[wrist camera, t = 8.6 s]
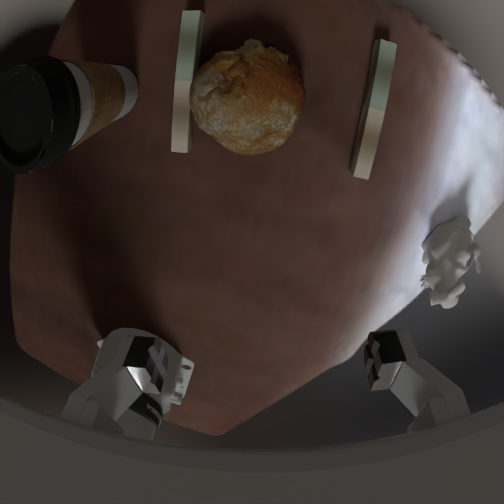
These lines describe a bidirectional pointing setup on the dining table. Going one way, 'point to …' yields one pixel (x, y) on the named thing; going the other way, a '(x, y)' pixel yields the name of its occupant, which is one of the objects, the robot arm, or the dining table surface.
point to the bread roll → (248, 98)
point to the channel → (370, 111)
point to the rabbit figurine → (449, 260)
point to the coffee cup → (58, 107)
